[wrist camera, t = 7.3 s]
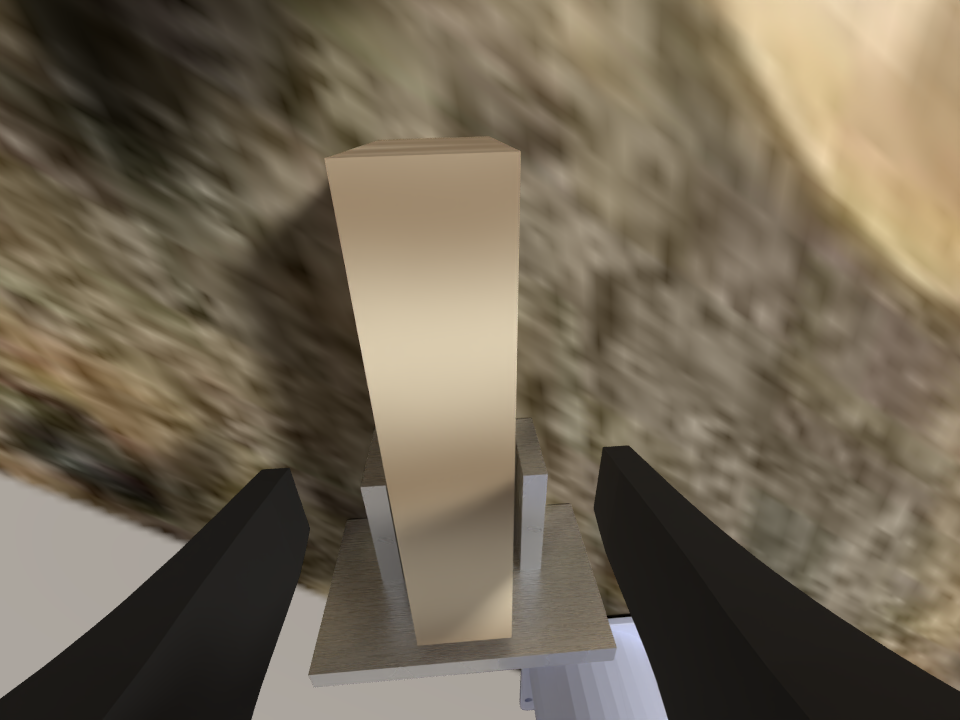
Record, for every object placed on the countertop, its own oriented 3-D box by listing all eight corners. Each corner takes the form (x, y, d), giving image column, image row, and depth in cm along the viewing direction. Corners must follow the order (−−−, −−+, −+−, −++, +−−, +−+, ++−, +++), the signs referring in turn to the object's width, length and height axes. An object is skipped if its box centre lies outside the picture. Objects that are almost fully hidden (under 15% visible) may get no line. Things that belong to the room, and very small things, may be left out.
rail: (493, 493, 19) (511, 637, 14) (425, 498, 19) (417, 645, 13) (488, 135, 12) (520, 151, 7) (379, 139, 12) (324, 158, 6)
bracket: (568, 523, 20) (611, 667, 15) (352, 539, 19) (317, 694, 14) (581, 415, 17) (641, 550, 11) (322, 431, 16) (264, 580, 11)
